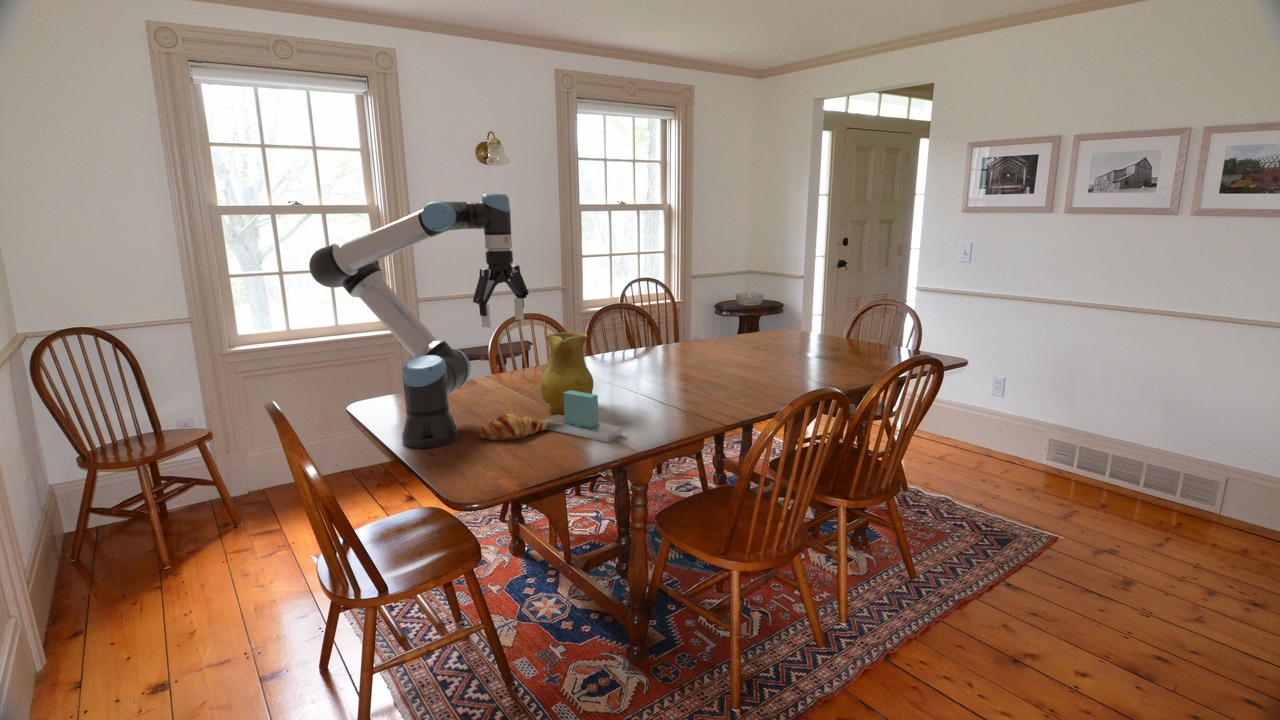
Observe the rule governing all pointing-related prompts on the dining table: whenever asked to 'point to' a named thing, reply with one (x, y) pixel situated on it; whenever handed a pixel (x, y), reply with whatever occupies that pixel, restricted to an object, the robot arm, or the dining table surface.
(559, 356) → the pitcher
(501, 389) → the dining table surface
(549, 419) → the rail
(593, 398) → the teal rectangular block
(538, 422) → the croissant
